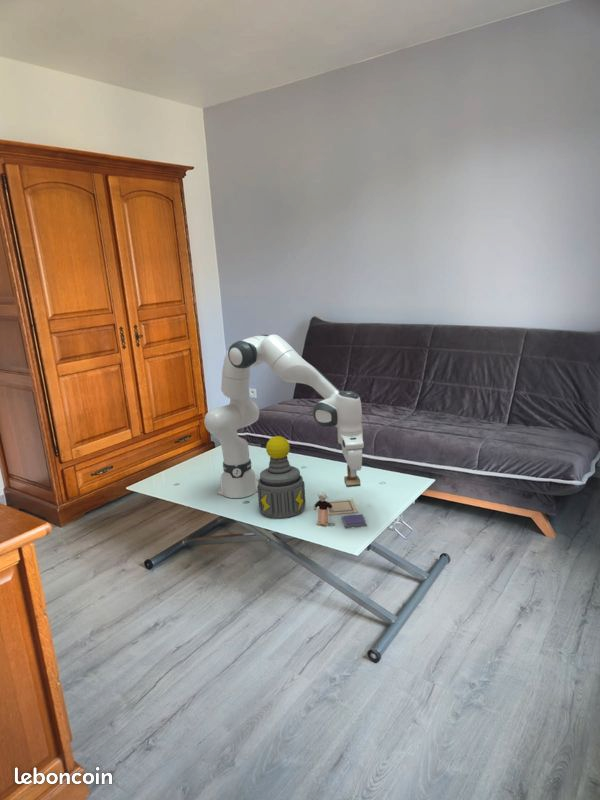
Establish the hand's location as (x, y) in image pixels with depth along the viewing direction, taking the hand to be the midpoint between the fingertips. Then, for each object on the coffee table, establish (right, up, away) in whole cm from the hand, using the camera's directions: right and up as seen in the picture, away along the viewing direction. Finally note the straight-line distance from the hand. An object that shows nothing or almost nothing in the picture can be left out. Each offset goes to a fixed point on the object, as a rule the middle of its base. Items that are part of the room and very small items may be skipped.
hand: (351, 473), depth 193 cm
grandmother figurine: (-10, -19, +4) cm, 22 cm away
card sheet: (-3, -16, +17) cm, 24 cm away
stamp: (0, -4, +1) cm, 4 cm away
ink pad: (+1, -18, +4) cm, 19 cm away
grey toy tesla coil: (-25, -17, +20) cm, 36 cm away
